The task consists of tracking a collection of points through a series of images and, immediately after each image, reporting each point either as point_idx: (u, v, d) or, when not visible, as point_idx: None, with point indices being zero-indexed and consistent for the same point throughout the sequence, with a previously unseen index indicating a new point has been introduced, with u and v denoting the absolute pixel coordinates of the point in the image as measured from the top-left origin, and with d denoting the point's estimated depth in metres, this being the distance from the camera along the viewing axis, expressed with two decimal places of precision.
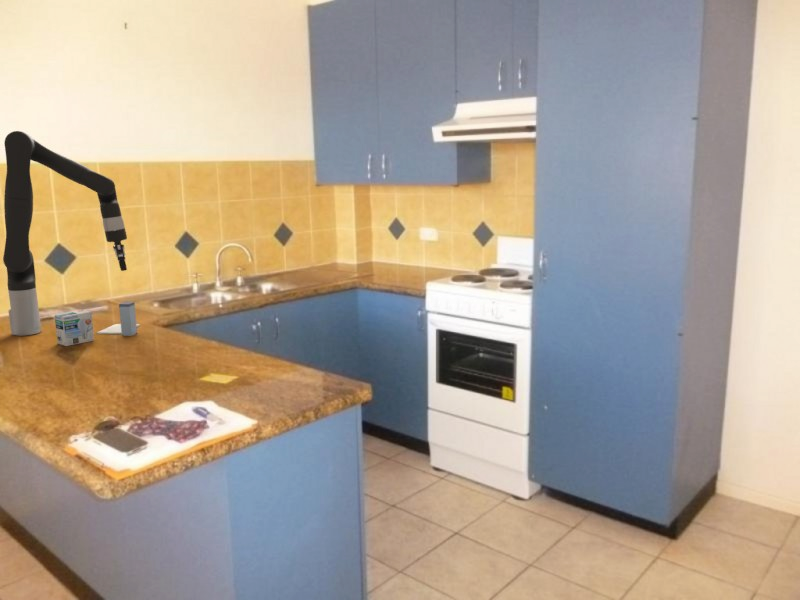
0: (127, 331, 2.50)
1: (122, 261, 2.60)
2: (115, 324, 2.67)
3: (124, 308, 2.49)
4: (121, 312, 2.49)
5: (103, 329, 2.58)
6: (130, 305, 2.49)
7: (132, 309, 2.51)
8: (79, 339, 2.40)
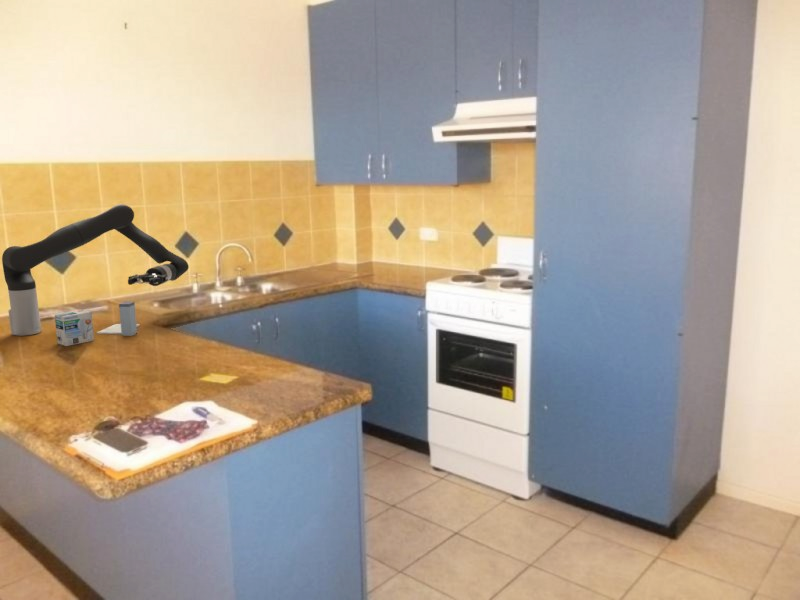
0: (127, 331, 2.50)
1: (157, 280, 2.63)
2: (115, 324, 2.67)
3: (124, 308, 2.49)
4: (121, 312, 2.49)
5: (103, 329, 2.58)
6: (130, 305, 2.49)
7: (132, 309, 2.51)
8: (79, 339, 2.40)
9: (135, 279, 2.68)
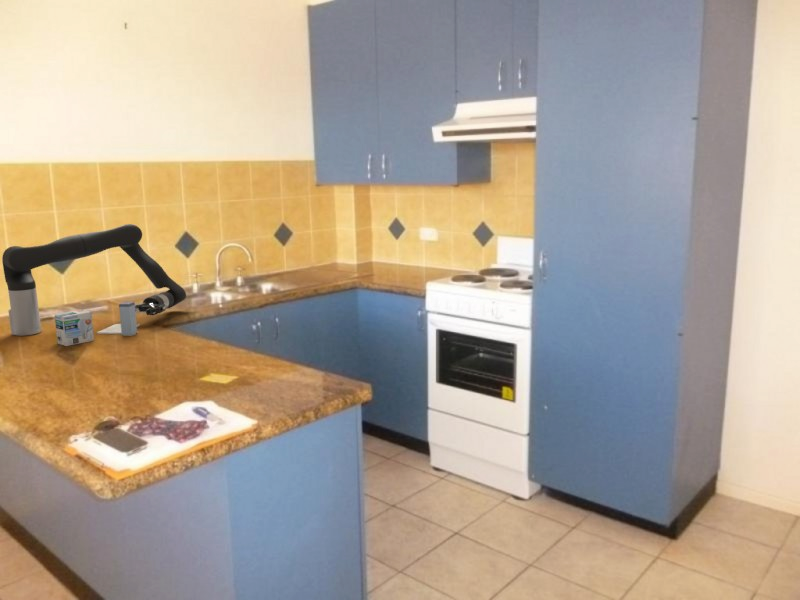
0: (127, 331, 2.50)
1: (154, 310, 2.61)
2: (115, 324, 2.67)
3: (124, 308, 2.49)
4: (121, 312, 2.49)
5: (103, 329, 2.58)
6: (130, 305, 2.49)
7: (132, 309, 2.51)
8: (79, 339, 2.40)
9: None
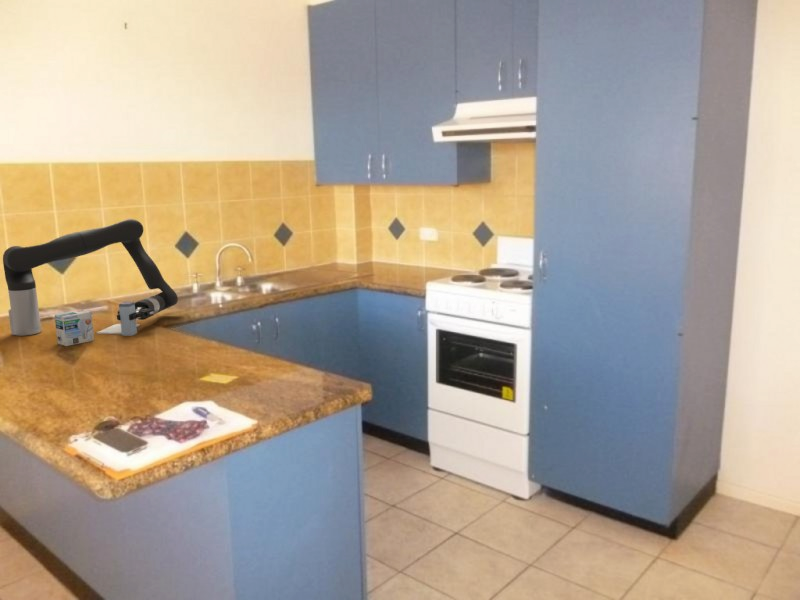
0: (127, 331, 2.50)
1: (136, 316, 2.52)
2: (115, 324, 2.67)
3: (124, 308, 2.49)
4: (121, 312, 2.49)
5: (103, 329, 2.58)
6: (130, 305, 2.49)
7: (132, 309, 2.51)
8: (79, 339, 2.40)
9: None
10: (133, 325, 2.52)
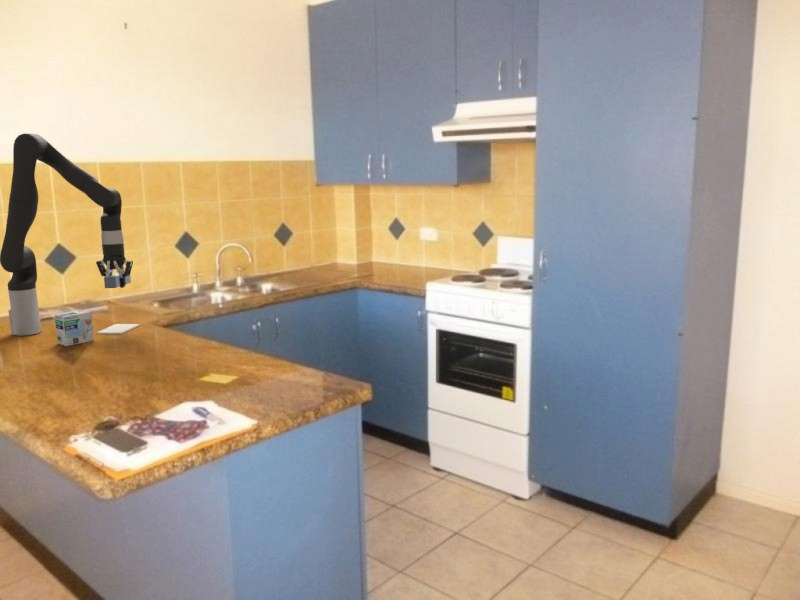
0: None
1: (123, 278, 2.54)
2: (115, 324, 2.67)
3: None
4: None
5: (103, 329, 2.58)
6: (115, 285, 2.50)
7: (117, 281, 2.52)
8: (79, 339, 2.40)
9: (103, 266, 2.54)
10: (126, 279, 2.58)
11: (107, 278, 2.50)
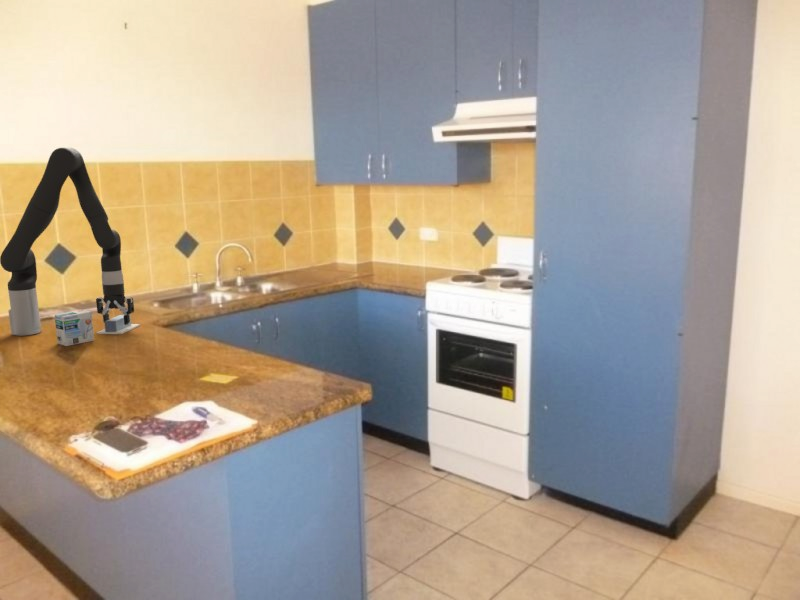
0: None
1: (128, 315, 2.58)
2: None
3: None
4: None
5: (103, 329, 2.58)
6: (116, 329, 2.55)
7: (118, 324, 2.56)
8: (79, 339, 2.40)
9: (101, 304, 2.58)
10: None
11: (107, 322, 2.54)
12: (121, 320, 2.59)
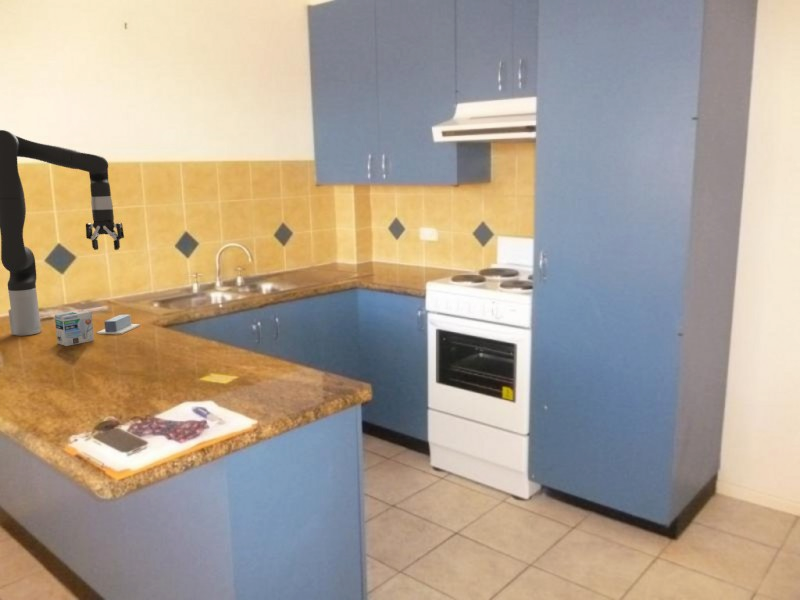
0: None
1: (118, 240, 2.63)
2: None
3: None
4: None
5: (103, 329, 2.58)
6: (116, 329, 2.55)
7: (118, 324, 2.56)
8: (79, 339, 2.40)
9: (91, 229, 2.64)
10: (126, 322, 2.62)
11: (107, 322, 2.54)
12: (121, 320, 2.59)
